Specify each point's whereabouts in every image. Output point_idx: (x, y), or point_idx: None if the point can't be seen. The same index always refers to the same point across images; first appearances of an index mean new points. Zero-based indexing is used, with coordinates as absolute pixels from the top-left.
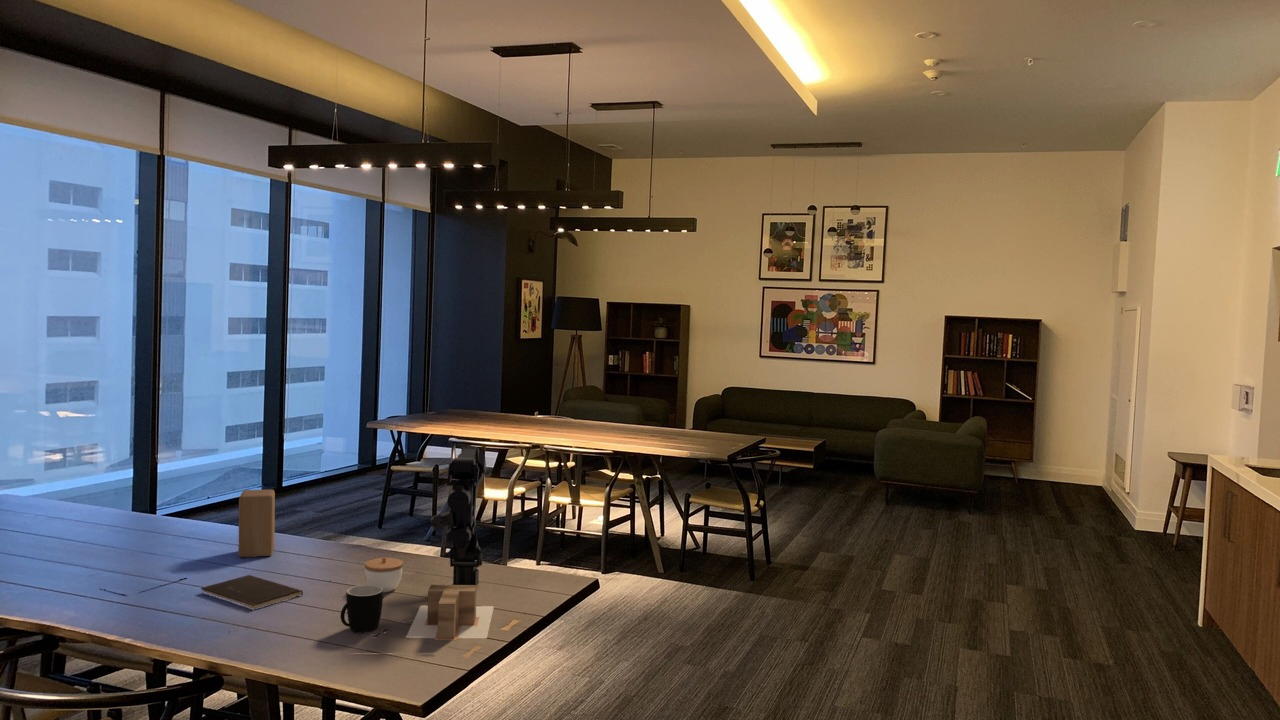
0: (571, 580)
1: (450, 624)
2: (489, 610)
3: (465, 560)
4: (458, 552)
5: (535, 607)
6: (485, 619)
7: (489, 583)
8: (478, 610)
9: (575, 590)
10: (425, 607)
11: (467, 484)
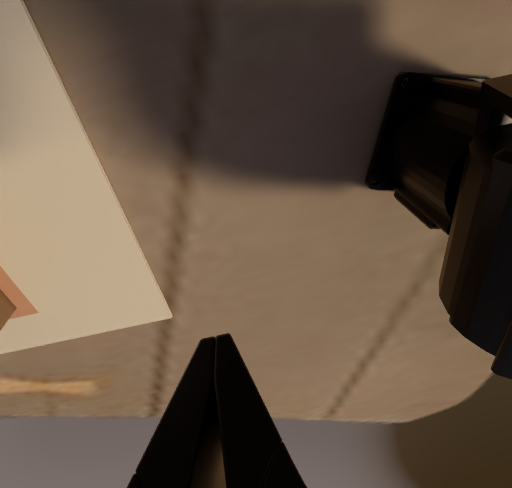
0: (441, 395)
1: None
2: (122, 318)
3: (450, 232)
4: (171, 406)
5: None
6: (28, 333)
7: None
8: (104, 290)
9: (361, 416)
10: (1, 42)
11: None
